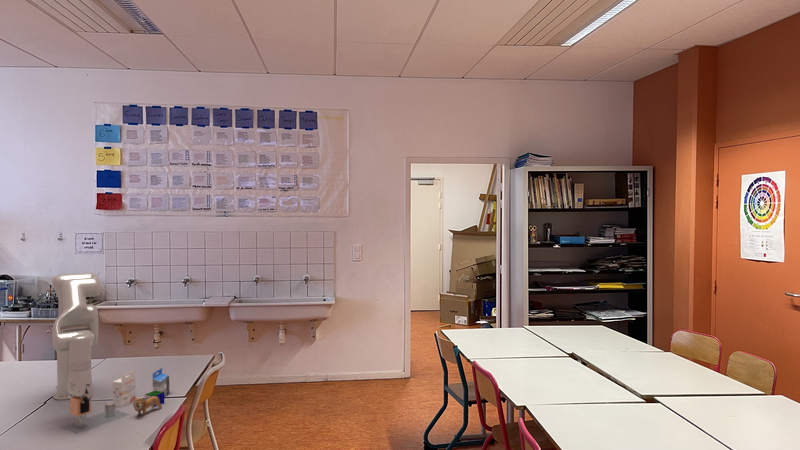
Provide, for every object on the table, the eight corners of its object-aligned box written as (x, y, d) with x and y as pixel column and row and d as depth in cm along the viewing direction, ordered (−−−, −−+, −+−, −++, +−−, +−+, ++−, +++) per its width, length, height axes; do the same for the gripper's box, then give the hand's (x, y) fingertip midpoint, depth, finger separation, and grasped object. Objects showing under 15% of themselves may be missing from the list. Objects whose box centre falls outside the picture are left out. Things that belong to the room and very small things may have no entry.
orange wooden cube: (70, 413, 203) (69, 397, 203) (83, 409, 207) (83, 393, 207) (77, 416, 200) (77, 399, 200) (90, 411, 205) (90, 395, 205)
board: (59, 429, 202) (59, 427, 202) (113, 410, 222) (113, 409, 222) (76, 435, 197) (76, 433, 197) (130, 416, 216) (130, 414, 216)
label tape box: (160, 399, 236) (160, 373, 235) (152, 399, 236) (152, 373, 235) (169, 393, 244) (169, 367, 244) (161, 392, 244) (161, 367, 244)
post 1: (75, 426, 203) (75, 414, 203) (82, 424, 206) (82, 411, 206) (79, 427, 202) (79, 415, 202) (85, 425, 204) (85, 413, 204)
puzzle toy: (155, 402, 232) (155, 390, 232) (164, 404, 230) (164, 392, 230) (144, 406, 227) (144, 394, 227) (154, 408, 225) (154, 396, 224)
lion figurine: (140, 421, 211) (140, 400, 210) (129, 420, 212) (129, 398, 212) (165, 408, 225) (165, 388, 225) (155, 407, 226) (155, 387, 226)
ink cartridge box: (126, 400, 234) (126, 368, 234) (135, 401, 233) (135, 369, 233) (112, 407, 226) (112, 374, 225) (122, 408, 225) (121, 375, 224)
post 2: (105, 416, 214) (105, 404, 214) (111, 414, 216) (111, 402, 216) (108, 417, 213) (108, 405, 213) (114, 415, 215) (114, 403, 215)
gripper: (58, 365, 204) (58, 410, 205) (82, 371, 196) (83, 418, 196) (78, 360, 211) (78, 404, 211) (102, 366, 203) (102, 411, 203)
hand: (80, 410), depth 204 cm, fingers closed on orange wooden cube, 5 cm apart
